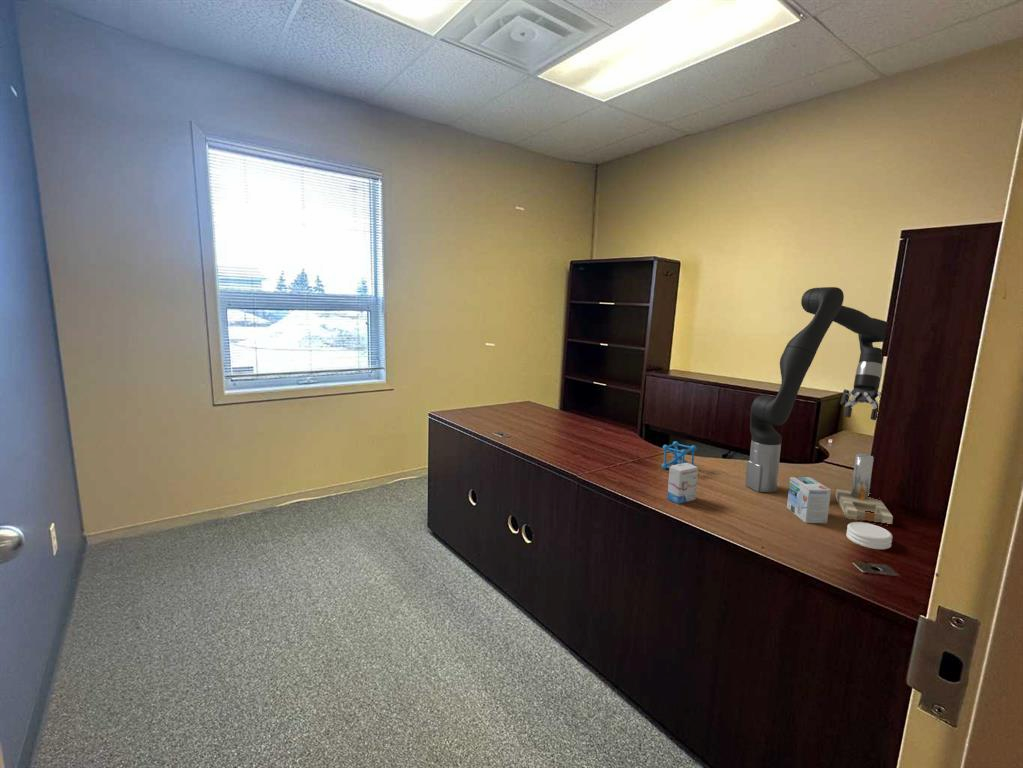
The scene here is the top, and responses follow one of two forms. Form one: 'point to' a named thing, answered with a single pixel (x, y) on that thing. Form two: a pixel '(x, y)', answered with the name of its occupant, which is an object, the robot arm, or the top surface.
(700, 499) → the top surface
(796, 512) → the light bulb box
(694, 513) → the top surface
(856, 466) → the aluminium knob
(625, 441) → the top surface
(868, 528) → the coaster
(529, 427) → the top surface
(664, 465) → the molecular structure
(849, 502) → the hub plate
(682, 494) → the ink box
